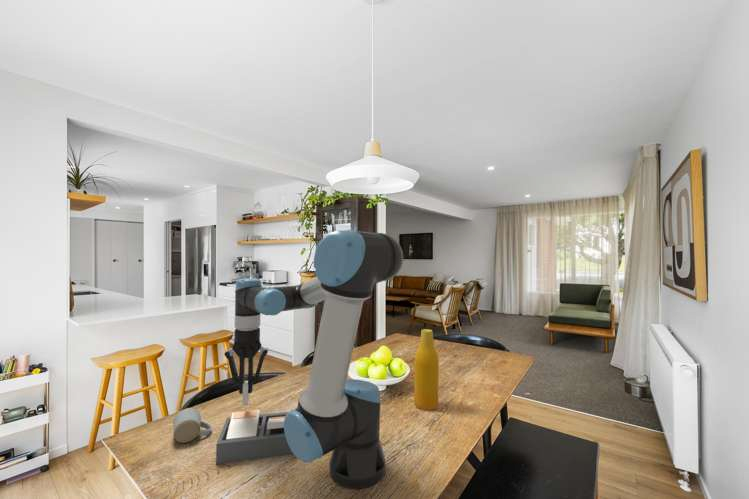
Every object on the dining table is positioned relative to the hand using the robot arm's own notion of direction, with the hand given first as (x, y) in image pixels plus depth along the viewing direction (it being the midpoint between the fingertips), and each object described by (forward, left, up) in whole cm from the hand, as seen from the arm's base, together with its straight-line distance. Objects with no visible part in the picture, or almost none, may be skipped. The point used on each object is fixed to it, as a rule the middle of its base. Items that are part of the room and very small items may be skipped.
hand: (245, 403), depth 104 cm
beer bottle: (+10, -65, -11) cm, 66 cm away
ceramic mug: (+5, +16, -11) cm, 20 cm away
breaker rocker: (-4, 0, -5) cm, 7 cm away
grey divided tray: (-4, -6, -11) cm, 13 cm away
